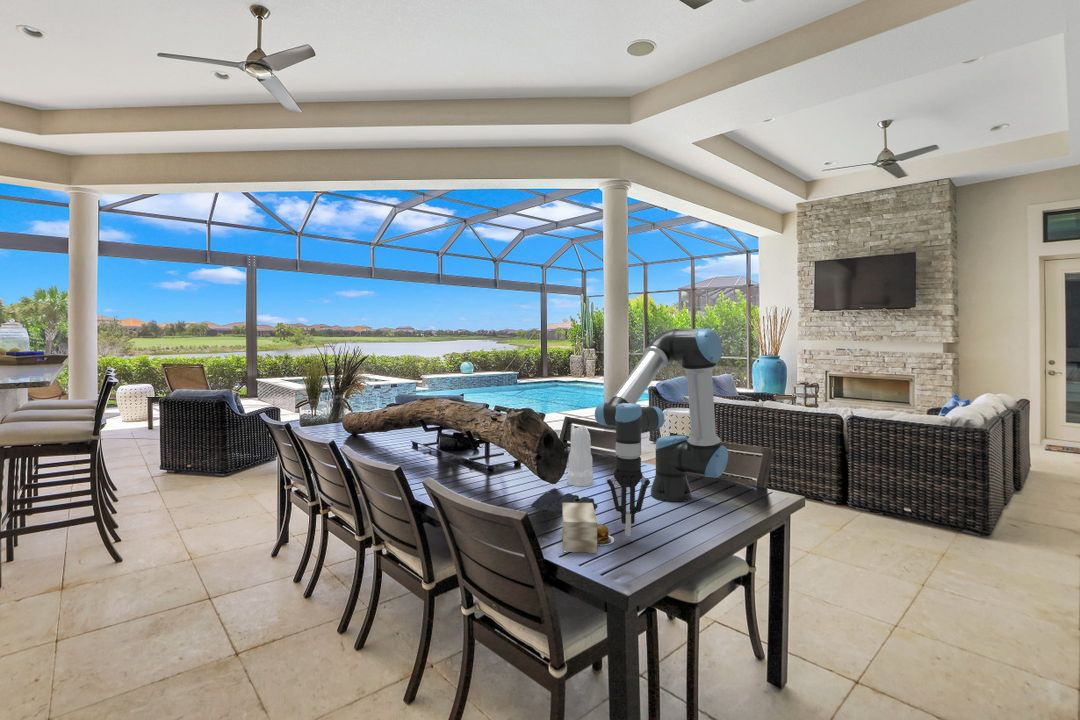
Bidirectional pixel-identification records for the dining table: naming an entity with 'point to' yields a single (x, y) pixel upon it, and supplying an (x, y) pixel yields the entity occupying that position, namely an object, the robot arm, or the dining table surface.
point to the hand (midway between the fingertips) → (627, 534)
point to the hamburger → (603, 534)
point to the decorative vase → (580, 458)
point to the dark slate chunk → (559, 501)
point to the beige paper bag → (579, 527)
